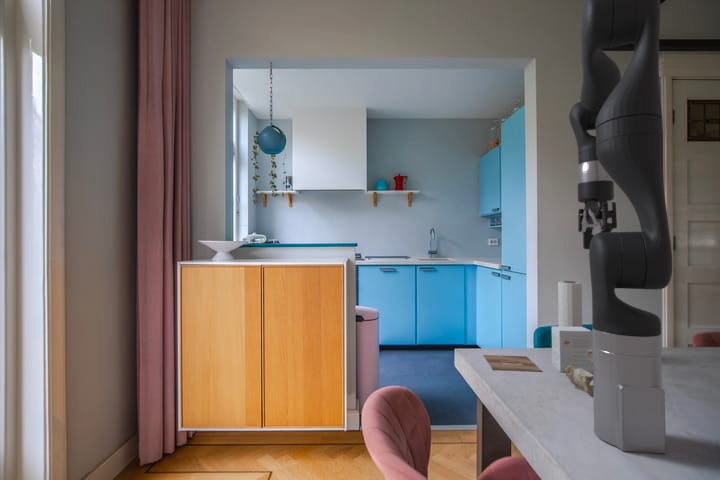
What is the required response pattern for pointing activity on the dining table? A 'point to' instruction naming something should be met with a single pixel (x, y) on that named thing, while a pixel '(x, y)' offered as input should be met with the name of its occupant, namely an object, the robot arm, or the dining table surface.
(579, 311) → the paper towel roll
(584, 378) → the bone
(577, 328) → the small box
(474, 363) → the dining table surface
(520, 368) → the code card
